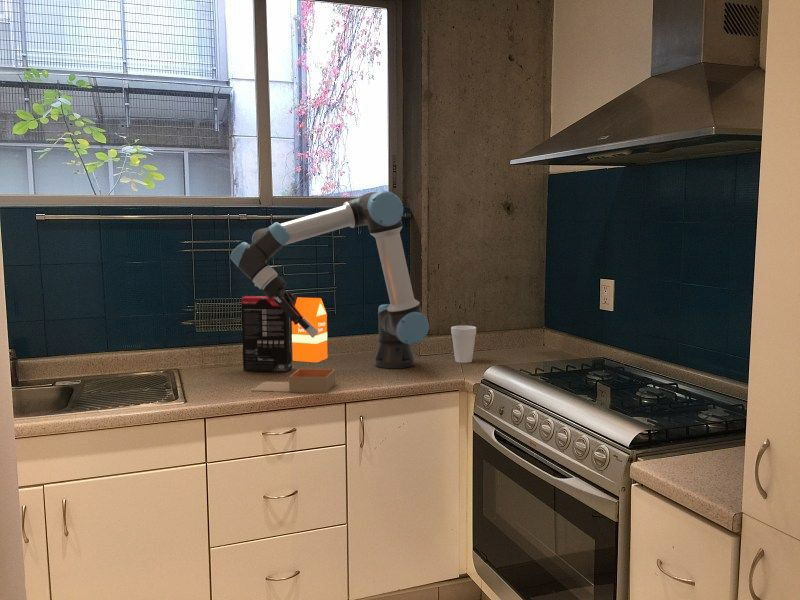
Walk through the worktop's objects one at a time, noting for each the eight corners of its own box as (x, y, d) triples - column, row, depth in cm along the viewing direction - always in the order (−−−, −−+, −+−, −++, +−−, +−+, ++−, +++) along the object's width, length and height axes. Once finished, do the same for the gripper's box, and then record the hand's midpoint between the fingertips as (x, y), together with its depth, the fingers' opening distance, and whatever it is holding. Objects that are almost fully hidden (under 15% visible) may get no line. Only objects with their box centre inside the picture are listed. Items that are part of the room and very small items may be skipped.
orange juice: (317, 362, 219) (315, 299, 216) (292, 360, 222) (290, 298, 219) (327, 357, 226) (326, 296, 224) (303, 356, 229) (302, 296, 227)
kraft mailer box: (335, 384, 230) (335, 369, 230) (327, 392, 219) (326, 377, 218) (264, 382, 233) (263, 368, 233) (252, 391, 222) (251, 376, 221)
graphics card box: (293, 368, 255) (291, 295, 252) (288, 372, 248) (286, 297, 245) (248, 368, 257) (245, 295, 254) (242, 372, 250) (239, 297, 247)
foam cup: (480, 360, 266) (480, 326, 264) (469, 364, 258) (469, 330, 257) (458, 357, 271) (458, 324, 269) (446, 361, 263) (446, 328, 262)
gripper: (273, 287, 234) (320, 335, 234) (251, 294, 213) (302, 346, 212) (287, 272, 233) (335, 319, 232) (267, 277, 211) (319, 329, 211)
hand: (319, 332), depth 222 cm, fingers closed on orange juice, 9 cm apart
